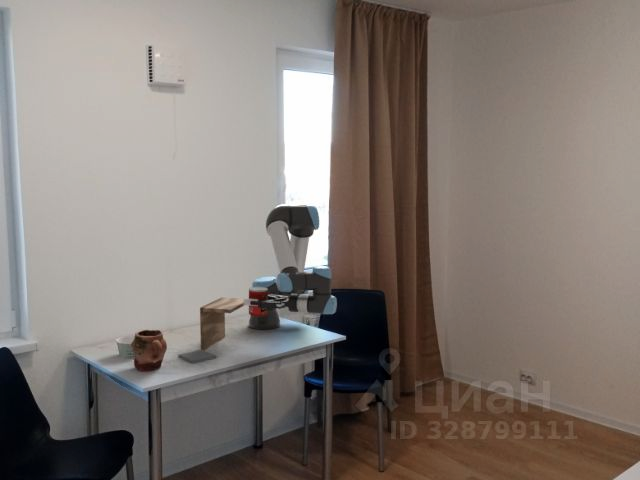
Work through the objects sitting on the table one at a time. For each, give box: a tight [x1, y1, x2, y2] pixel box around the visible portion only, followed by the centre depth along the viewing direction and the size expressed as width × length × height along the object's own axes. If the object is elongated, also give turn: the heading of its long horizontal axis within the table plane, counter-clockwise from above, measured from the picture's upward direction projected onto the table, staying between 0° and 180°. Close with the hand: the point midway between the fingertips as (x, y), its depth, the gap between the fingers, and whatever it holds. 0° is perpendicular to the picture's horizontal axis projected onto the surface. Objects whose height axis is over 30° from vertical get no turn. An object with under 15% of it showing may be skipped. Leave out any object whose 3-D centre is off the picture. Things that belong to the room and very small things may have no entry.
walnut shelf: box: [199, 297, 245, 351], centre depth 275 cm, size 14×22×18 cm, turn 165°
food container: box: [115, 335, 135, 359], centre depth 260 cm, size 12×12×6 cm
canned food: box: [248, 286, 268, 316], centre depth 269 cm, size 8×8×11 cm
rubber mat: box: [177, 349, 218, 364], centre depth 257 cm, size 11×11×1 cm
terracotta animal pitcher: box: [131, 329, 168, 372], centre depth 241 cm, size 20×12×14 cm, turn 45°
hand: (247, 299), depth 270 cm, fingers closed on canned food, 8 cm apart
